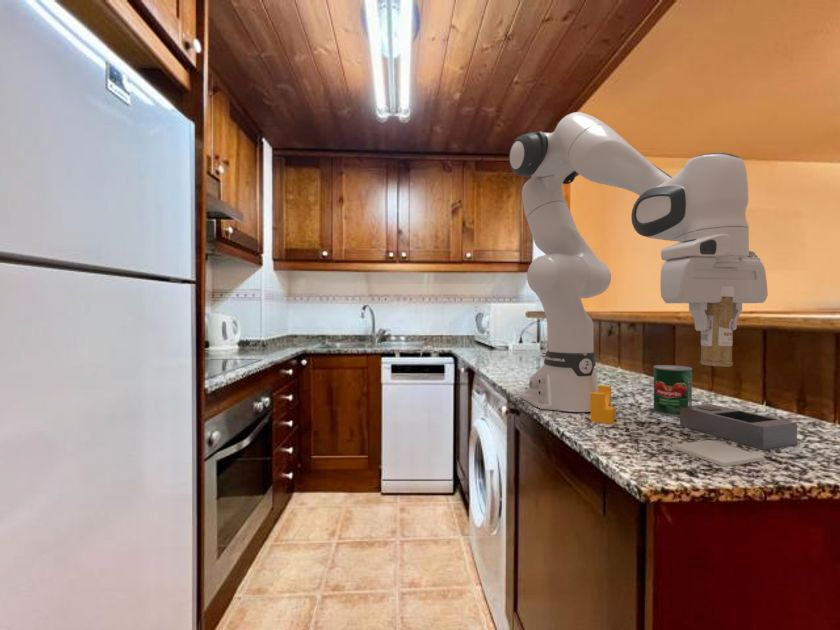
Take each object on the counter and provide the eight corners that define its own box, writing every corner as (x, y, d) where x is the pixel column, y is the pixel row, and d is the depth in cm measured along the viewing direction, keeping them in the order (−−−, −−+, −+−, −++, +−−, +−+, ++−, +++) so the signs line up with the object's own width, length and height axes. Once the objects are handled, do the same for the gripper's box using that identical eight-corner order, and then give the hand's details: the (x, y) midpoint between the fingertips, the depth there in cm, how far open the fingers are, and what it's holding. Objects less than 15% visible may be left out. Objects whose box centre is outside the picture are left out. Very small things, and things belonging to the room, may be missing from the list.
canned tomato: (658, 415, 94) (658, 368, 94) (649, 407, 101) (649, 364, 101) (697, 417, 91) (697, 369, 91) (685, 409, 99) (685, 365, 99)
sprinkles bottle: (735, 367, 65) (736, 285, 65) (701, 365, 67) (702, 285, 67) (729, 365, 69) (731, 287, 69) (697, 363, 71) (699, 287, 71)
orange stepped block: (612, 425, 87) (612, 395, 87) (590, 422, 89) (590, 393, 89) (618, 413, 97) (618, 386, 97) (599, 410, 99) (599, 384, 99)
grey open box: (680, 425, 85) (679, 406, 85) (710, 422, 88) (710, 403, 88) (763, 449, 70) (763, 426, 70) (796, 444, 72) (796, 422, 72)
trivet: (672, 448, 71) (672, 444, 71) (710, 443, 74) (710, 439, 74) (723, 466, 62) (723, 462, 62) (764, 460, 65) (764, 456, 65)
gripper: (740, 254, 74) (740, 328, 74) (652, 249, 68) (653, 330, 68) (779, 248, 68) (779, 329, 68) (687, 243, 62) (687, 332, 62)
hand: (715, 330), depth 68 cm, fingers closed on sprinkles bottle, 4 cm apart
